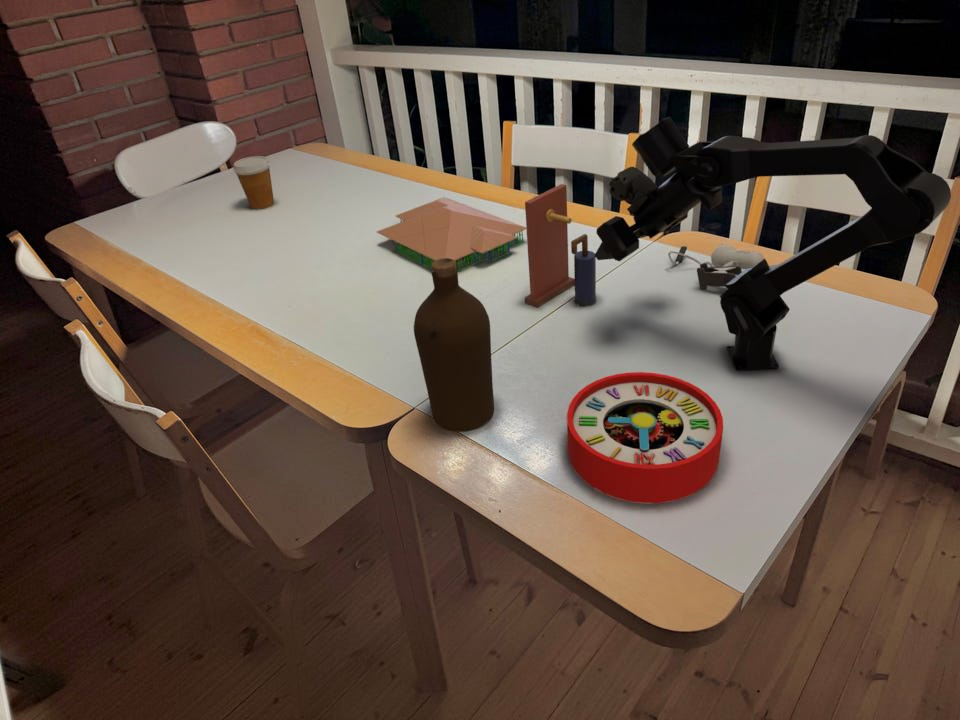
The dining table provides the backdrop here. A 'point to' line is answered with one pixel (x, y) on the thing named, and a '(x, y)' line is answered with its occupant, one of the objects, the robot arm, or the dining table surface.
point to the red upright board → (547, 245)
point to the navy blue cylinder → (584, 272)
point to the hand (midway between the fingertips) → (612, 247)
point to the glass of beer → (255, 180)
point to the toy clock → (644, 437)
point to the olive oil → (455, 352)
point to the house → (451, 232)
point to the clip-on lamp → (721, 264)
